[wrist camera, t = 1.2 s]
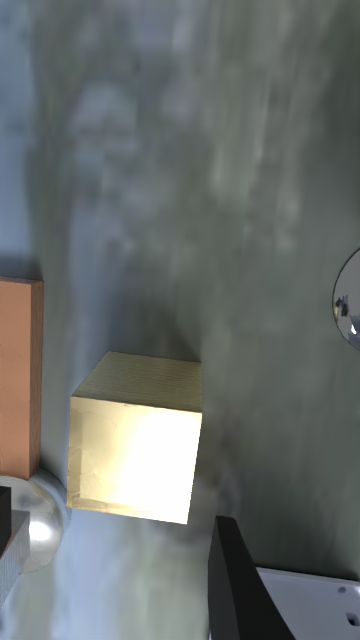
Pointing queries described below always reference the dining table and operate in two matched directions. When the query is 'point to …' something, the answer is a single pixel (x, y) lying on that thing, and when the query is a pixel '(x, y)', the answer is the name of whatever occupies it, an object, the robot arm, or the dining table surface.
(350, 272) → the wine glass
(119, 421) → the brushed gold cube
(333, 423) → the dining table surface
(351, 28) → the dining table surface
